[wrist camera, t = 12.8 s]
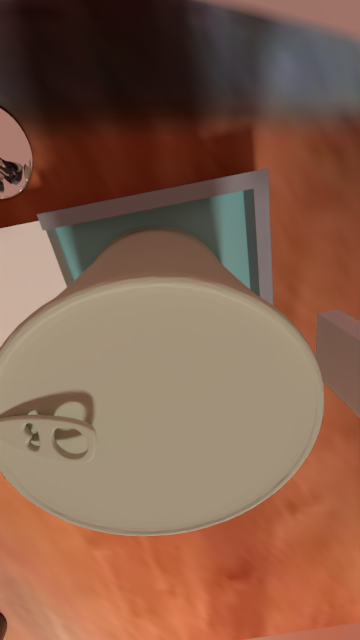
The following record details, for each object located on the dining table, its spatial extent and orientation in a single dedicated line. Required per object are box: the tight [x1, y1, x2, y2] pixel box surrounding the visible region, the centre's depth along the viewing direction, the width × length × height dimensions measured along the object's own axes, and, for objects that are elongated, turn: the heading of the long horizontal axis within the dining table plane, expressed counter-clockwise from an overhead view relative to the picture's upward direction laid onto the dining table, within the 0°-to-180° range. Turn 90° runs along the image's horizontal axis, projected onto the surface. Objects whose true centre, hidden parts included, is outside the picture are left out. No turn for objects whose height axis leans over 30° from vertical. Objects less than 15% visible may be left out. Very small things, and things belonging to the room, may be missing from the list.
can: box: [0, 226, 324, 536], centre depth 12 cm, size 9×9×12 cm
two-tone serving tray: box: [0, 168, 273, 347], centre depth 16 cm, size 27×13×3 cm, turn 100°
